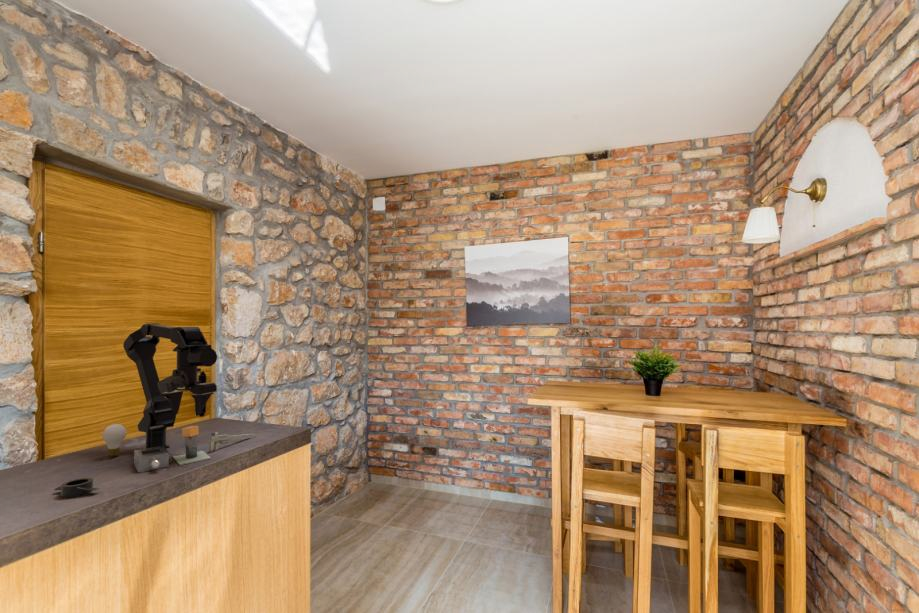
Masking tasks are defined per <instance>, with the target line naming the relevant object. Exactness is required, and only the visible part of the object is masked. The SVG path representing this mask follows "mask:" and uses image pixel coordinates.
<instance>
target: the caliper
mask: <svg viewBox="0 0 919 613" xmlns="http://www.w3.org/2000/svg"><path fill="white" fill-rule="evenodd" d="M218 433H219V432H218V431H216V432H214V431H213V432H212V433H211V435H210V436H209V439H208V452H209V453H213V452H217V451H218V449H219V446H220V444H228V443H229V441H236V440H247V439H249V440H250V439H252V438H255V437H257V436H258V435H257V434H255V433H246V434H245V433H244V434H234V435H229V434H218Z"/></svg>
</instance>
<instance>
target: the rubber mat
mask: <svg viewBox="0 0 919 613" xmlns="http://www.w3.org/2000/svg"><path fill="white" fill-rule="evenodd" d="M172 459H174V461H175V462H176V463H177V464H178V465H179V466H182V465H183V466H184V465H187V464H193V463H197V462H198V463H199V462H203V461H208V460H209V461H210V460H211V459H212V457H211V456H210V455H208V454H207V453H206V452H205V451H204V450H200V451H197V457H194V458H186V453H184V454H179V455H173V456H172Z"/></svg>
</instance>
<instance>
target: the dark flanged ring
mask: <svg viewBox="0 0 919 613" xmlns="http://www.w3.org/2000/svg"><path fill="white" fill-rule="evenodd" d="M96 490H99V488H97V487H94V478H92V477H83V478H75V479H73V480H69V481H66V482H64V483H61V485H60V486H57V487H56V488H54V489H53V491H60V498H61V499H72V498H77V497H78V498H79V497H82V496H85V495H88V494H90V493H92V492H93V491H96Z"/></svg>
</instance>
